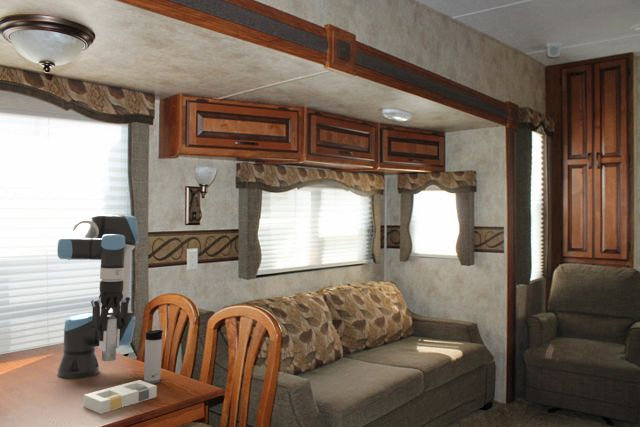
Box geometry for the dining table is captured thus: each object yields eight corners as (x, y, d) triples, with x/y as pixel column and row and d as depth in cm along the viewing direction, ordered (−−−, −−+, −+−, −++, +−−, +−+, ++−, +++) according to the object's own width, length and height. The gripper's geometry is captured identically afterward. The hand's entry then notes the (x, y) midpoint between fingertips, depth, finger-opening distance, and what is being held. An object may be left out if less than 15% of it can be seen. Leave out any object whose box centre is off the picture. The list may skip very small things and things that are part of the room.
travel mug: (156, 384, 211) (158, 332, 210) (140, 382, 212) (142, 331, 212) (164, 379, 217) (166, 329, 217) (148, 378, 218) (150, 327, 218)
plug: (99, 359, 186) (100, 315, 186) (110, 357, 189) (112, 314, 189) (106, 362, 183) (108, 317, 183) (118, 359, 187) (120, 315, 187)
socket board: (83, 406, 185) (84, 394, 185) (139, 390, 203) (139, 379, 203) (101, 414, 179) (101, 401, 179) (156, 397, 197) (157, 385, 197)
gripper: (94, 283, 177) (91, 355, 177) (140, 279, 191) (137, 346, 191) (81, 280, 181) (78, 351, 181) (127, 277, 195) (124, 342, 195)
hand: (109, 348), depth 186 cm, fingers closed on plug, 4 cm apart
